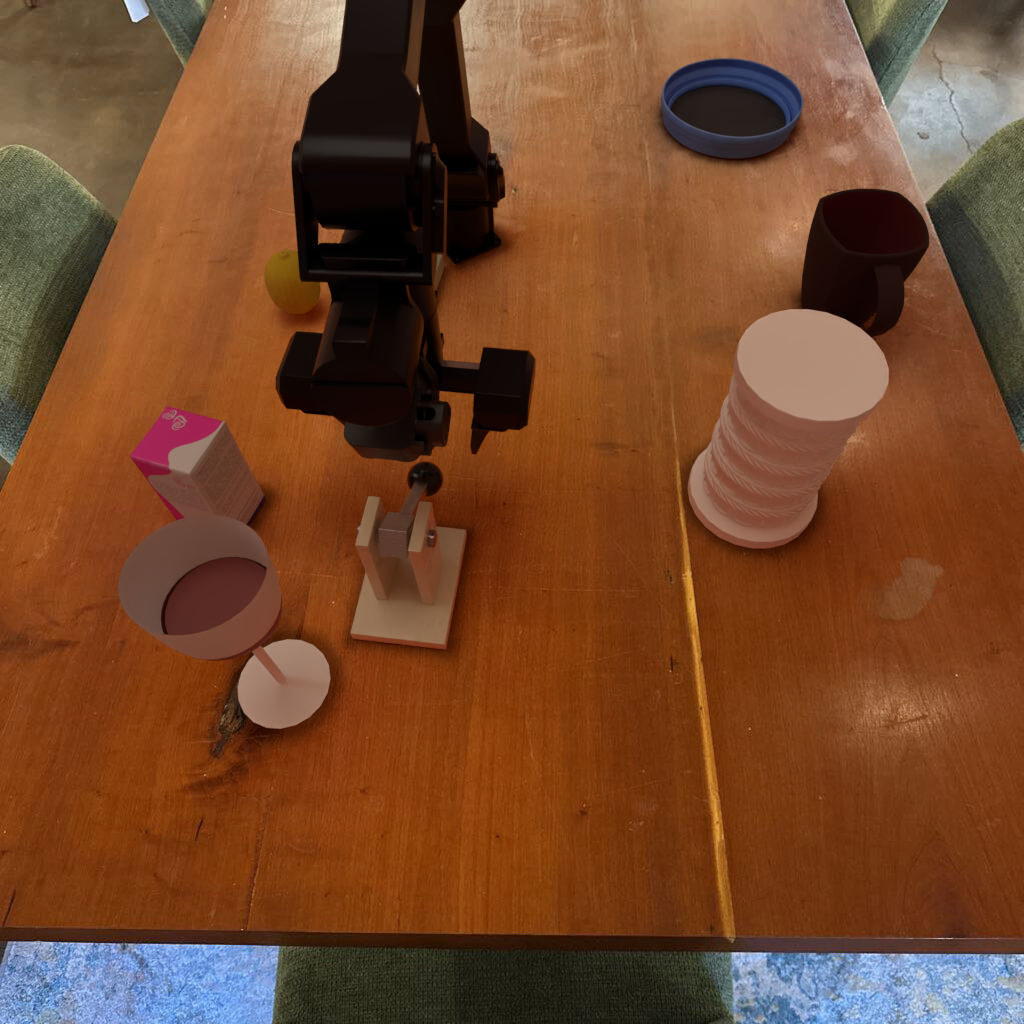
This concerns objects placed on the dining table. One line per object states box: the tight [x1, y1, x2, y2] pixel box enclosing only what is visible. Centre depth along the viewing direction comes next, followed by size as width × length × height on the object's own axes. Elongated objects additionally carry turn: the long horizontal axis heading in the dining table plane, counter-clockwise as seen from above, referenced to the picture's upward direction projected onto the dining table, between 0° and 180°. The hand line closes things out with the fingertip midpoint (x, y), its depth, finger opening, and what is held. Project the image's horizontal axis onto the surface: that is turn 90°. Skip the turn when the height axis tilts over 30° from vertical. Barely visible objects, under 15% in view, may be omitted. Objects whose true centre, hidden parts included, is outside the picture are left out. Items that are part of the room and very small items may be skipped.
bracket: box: [349, 495, 468, 650], centre depth 62 cm, size 11×8×11 cm
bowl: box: [660, 57, 805, 159], centre depth 100 cm, size 18×18×4 cm
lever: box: [378, 460, 444, 559], centre depth 63 cm, size 13×3×3 cm
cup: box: [800, 188, 930, 338], centre depth 77 cm, size 10×14×12 cm
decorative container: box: [686, 308, 890, 549], centre depth 63 cm, size 12×12×18 cm
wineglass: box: [117, 515, 332, 730], centre depth 54 cm, size 8×9×20 cm
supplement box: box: [129, 405, 266, 527], centre depth 66 cm, size 6×6×12 cm
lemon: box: [264, 249, 322, 315], centre depth 81 cm, size 6×6×8 cm
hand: (420, 445), depth 64 cm, fingers open, 9 cm apart
